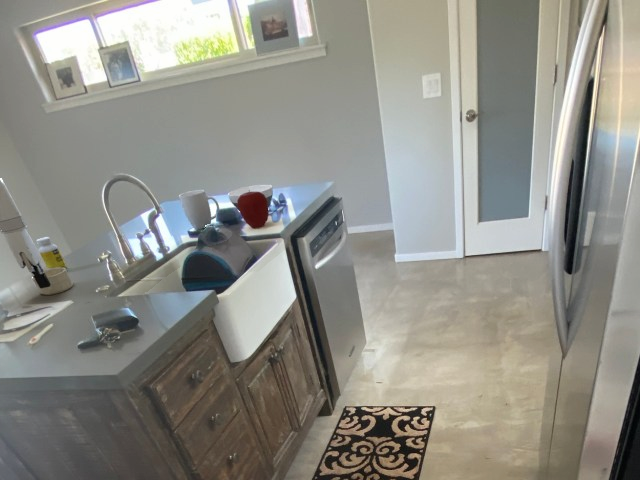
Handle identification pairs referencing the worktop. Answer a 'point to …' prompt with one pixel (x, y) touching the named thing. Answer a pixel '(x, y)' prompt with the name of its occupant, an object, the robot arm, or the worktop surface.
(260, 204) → the apple
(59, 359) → the worktop surface
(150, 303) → the worktop surface
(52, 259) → the pill bottle
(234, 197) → the bowl
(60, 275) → the small bowl
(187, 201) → the mug
